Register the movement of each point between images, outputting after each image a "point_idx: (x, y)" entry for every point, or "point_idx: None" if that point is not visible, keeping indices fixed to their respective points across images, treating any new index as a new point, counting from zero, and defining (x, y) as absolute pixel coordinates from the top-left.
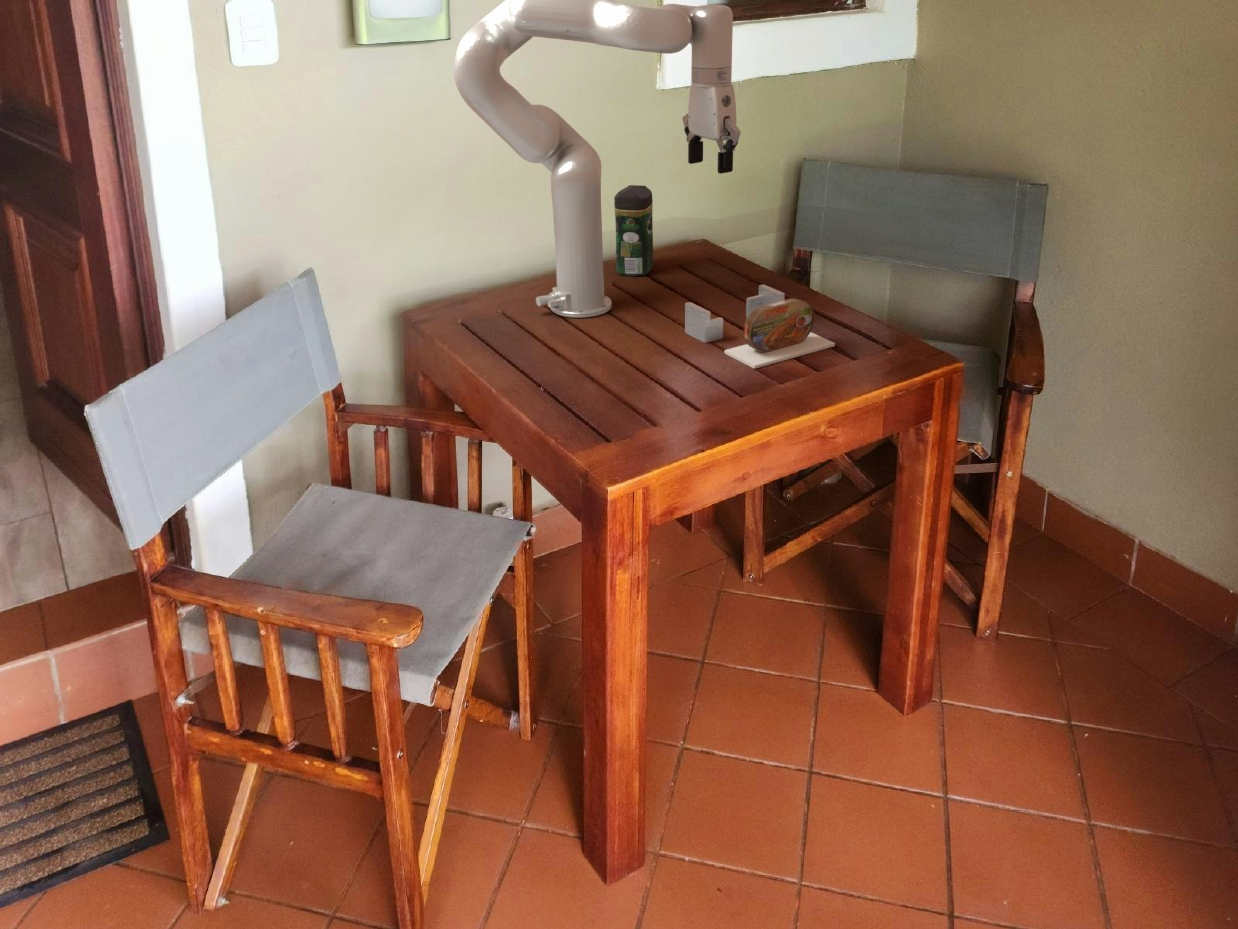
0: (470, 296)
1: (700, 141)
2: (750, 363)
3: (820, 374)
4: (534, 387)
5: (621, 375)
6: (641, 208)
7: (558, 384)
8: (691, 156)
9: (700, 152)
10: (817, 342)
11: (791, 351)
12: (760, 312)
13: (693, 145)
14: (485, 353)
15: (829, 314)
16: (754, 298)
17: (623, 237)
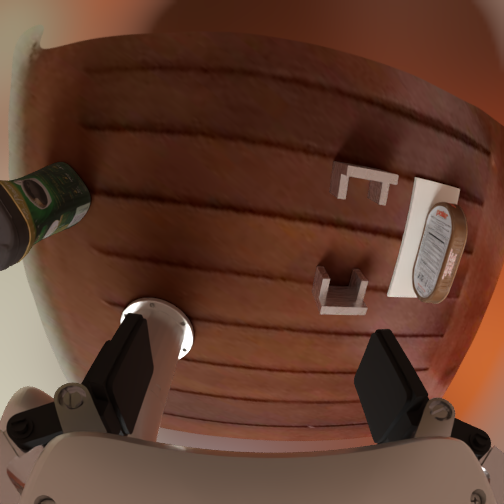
0: (81, 371)
1: (99, 391)
2: None
3: (474, 256)
4: (305, 428)
5: (342, 386)
6: (27, 235)
7: (314, 419)
8: (145, 388)
9: (134, 360)
10: (448, 201)
11: None
12: (444, 298)
13: (130, 422)
14: (220, 426)
15: (397, 100)
16: (346, 189)
17: (45, 237)
